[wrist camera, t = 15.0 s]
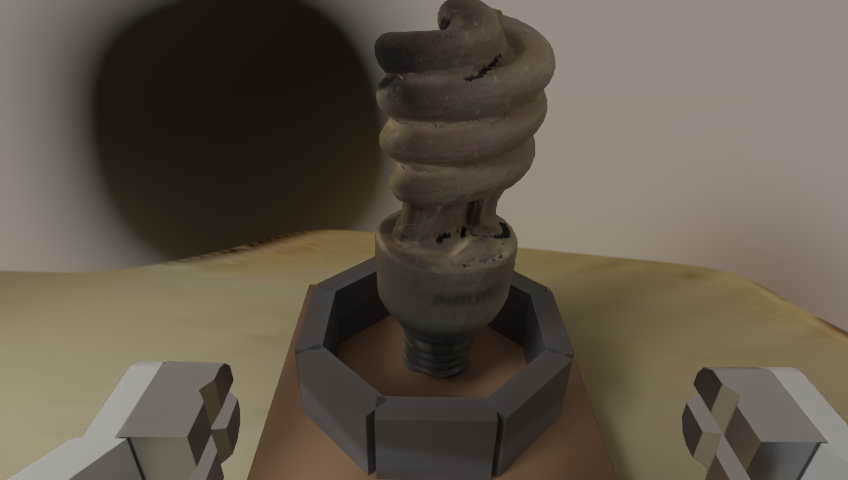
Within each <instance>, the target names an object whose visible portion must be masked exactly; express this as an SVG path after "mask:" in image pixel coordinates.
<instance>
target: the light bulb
mask: <svg viewBox="0 0 848 480" xmlns="http://www.w3.org/2000/svg"><path fill="white" fill-rule="evenodd" d="M438 25H439V28H440V30H433V31H411V32H388V33H385V34H382V35H381V36H380V37H379V38H378V39H377V40H376V43H375V46H374V47H375V56H376V59H377V61H378V63H379V65H380V66H381V68H382V69H383V70H384V71H385V73H386V76H385V78H384V79H383V80H382V81H381V82H380V83H379V85H378V89H377V93H376V97H377V101H378V105H379V106H380V108H381V109H382V111H384V112H385V113H386V114H387V115H388V117H389V120H388V122H387V123H386V125H385V126H384V127H383V129H382V131H381V133H380V136H379V143H380V146H381V148H382V149H383V151H384V152H385V153H386V154H388V155H389V156H390V157H392V158H393V159H394V160H395V161H396V167H395V169H394V170H393V171H392V172H391V175H390V178H389V187H390V189H391V190H392V192H393V194H394V195H395V197H396V198H397V199H398V200H400V201H402V202H403V207H402V210H399V211H397V212H395V213H393V214H391V215H390V216H388V217H387V218H386V219H384V220H383V221H382V222H381V223H380V225H379V226H378V228H377V231H376V235H375V243H376V245H375V258H376V267H377V287H378V293H379V297H380V299H381V301H382V303H383V305H384V306H385V308H386V309H387V310H388V312H389V313H390V314H391V315H392V317H393V318H394V319H395V320H397V321H398V322H399V324H400V325H401V326H402V328H403V331H404V345H403V348H404V350H403V360H404V363H405V364H406V366H407V367H408V368H409V369H410V370H411V371H415V372H420V373H424V374H426V375H428V376H433V377H435V378H445V377H452V376H455V375H458V374H460V373H462V372H463V371H464V370H466V369H467V367H468V365H469V358H470V350H471V345H472V343H473V336H474V335H475V334H476V333H477V332H478V331H479V330H480V329H481V328H483V327H484V326H485V325H487V324H488V323H489V322H491V321H492V320H493V319H494V318H495V316H496V315H497V314H498V313H499V311H500V310H501V308H502V307H503V305H504V303H505V301H506V299H507V297H508V293H509V288H510V284H511V280H512V276H513V271H514V266H515V257H516V253H517V238H516V235H515V233H514V231H513V229H512V227H511V226H510V225H509V224H508V223H507V222H506V221H505V220H504V219H502V218H501V217H499V216H497V215H496V206H497V201H498V199H499V198H500V196H501V195H502V193H503V192H504V190H506V189H508V188H509V187H511V186H513V185H514V184H515V183H516V182H518V181H519V180H520V179H521V178H522V177H523V176H524V175H525V173H526V172H527V171H528V170H529V169H530V167H531V164H532V162H533V159H534V157H535V140H534V137H533V135H534V134H535V132H537V130H538V129H539V127H540V126H541V124H542V123H543V121H544V118H545V116H546V112H547V98H546V95H545V92H544V88H545V87H546V86H547V85H548V84H549V82H550V80H551V78H552V76H553V74H554V69H555V57H554V53H553V49H552V47H551V45H550V44H549V42H548V41H547V40H546V38H545V37H543V36H542V35H541V34H540V33H539V32H538V31H537V30H535V29H534V28H533V27H531V26H529V25H527V24H525V23H523V22H521V21H519V20H518V19H515V18H511V17H508V16H505V15H503V14H502V12H501V10H497V9H493V8H490V7H489V6H488V5H486V4H485V3H483V2H482V1H480V0H447V1H445V2H444V3H443V4H442V5H441V7H440V9H439V12H438Z"/></svg>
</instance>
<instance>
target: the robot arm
mask: <svg viewBox="0 0 848 480" xmlns="http://www.w3.org/2000/svg"><path fill="white" fill-rule="evenodd" d="M232 382H233V376H232V373H231V369H230V366H229V365H227V364H225V363H202V362H172V361H168V362H152V361H138V362H136V363H134V364H133V365H131V366H130V367H129V368H128V370H127V371H126V373H125V374H124V376H123V377H122V379H121V380H120V382H119V383H118V385H117V386H116V388H115V389H114V391H113V392H112V393H111V395H110V396H109V398H108V399H107V401H106V402H105V404H104V405H103V407H102V408H101V410H100V411H99V413H98V414H97V416H96V417H95V419H94V420H93V422H92V423H91V425H90V426H89V427H88V429H87V430H86V432H85V433H84V435H83V436H82V438H71V439H70V440H68V441H67V442H65V443H64V444H62V445H60V446H59V447H57V448H56V449H54V450H53V451H51V452H49V453H48V454H46V455H45V456H43V457H42V458H40V459H39V460H37V461H35V462H34V463H32V464H31V465H29V466H28V467H26V468H25V469H23V470H21V471H20V472H18V473H17V474H15V475H14V476H12V477H11V478H9V479H7V480H223V479H224V476H223V472H222V468H221V463H223V462H224V461H225V460H226V459H227V458H228V457H230V456H231V455H232V454H233V451H234V448H235V445H236V442H237V439H238V433H239V426H240V408H239V403H238V399H237V398H236V397H235V396H234V395H233V394H232V393H230V392H229V390H230V387H231V385H232ZM694 386H695V388H696V389H697V391H698V393H699V394H697V395H696V396H695V397H693V398H692V399H691V400H689V401H688V402H687V403H686V406H685V409H684V413H683V416H682V422H683V434H684V438H685V441H686V445H687V447H688V449H689V451H690V453H691V455H692V457H693V458H694V459H695V460H697V461H698V462H699V463H701V464H702V465H703V466H704V467H706V468H707V469H708V470H707V474H706V478H705V480H848V425H847V424H846V423H845V421H844V420H843V419H842V418H841V417H840V416H839V414H838V413H837V412H836V411H835V410H834V409H833V408H832V406H831V405H830V404H829V403H828V402H827V401H826V400H825V398H824V397H823V396H822V395H821V394H820V393H819V391H818V390H817V389H816V388H815V387H814V386H813V385H812V383H811V382H810V381H809V380H808V379H807V378H806V377H805V375H804V374H803V373H802V372H800V371H799V370H797V369H795V368H793V367H762V368H758V367H704V368H703V369H702V370H700V371H699V372H698V373H697V376H696V379H695V381H694Z"/></svg>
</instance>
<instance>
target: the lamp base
mask: <svg viewBox="0 0 848 480" xmlns="http://www.w3.org/2000/svg"><path fill="white" fill-rule="evenodd" d="M403 345H404V331H403V328H402V326H401V325H400V324H399V322H398V321H397V320H395V319H394V318H393V317H392V315H391V314H390V313H389V312H388V310H387V309H386V308H385V306H384V305H383V303H382V301H381V299H380V297H379V293H378V287H377V267H376V258H375V257H373V258H371V259H369V260H367V261H365V262H363V263H360V264H358V265H356V266H354V267H352V268H350V269H348V270H346V271H344V272H341V273H339V274H337V275H335V276H333V277H331V278H329V279H327V280H325V281H322V282H320V283H318V284H317V285H309V288H308V291H307V294H306V298H305V301H304V304H303V307H302V310H301V313H300V316H299V319H298V322H297V326H296V329H295V332H294V335H293V338H292V341H291V344H290V347H289V351H288V354H287V357H286V360H285V363H284V366H283V369H282V372H281V375H280V379H279V382H278V385H277V388H276V391H275V394H274V397H273V400H272V404H271V407H270V410H269V413H268V416H267V419H266V422H265V425H264V429H263V432H262V435H261V438H260V441H259V444H258V447H257V450H256V453H255V457H254V460H253V463H252V466H251V469H250V472H249V475H248V478H247V480H617V479H616V476H615V473H614V470H613V467H612V464H611V462H610V459H609V456H608V453H607V450H606V447H605V444H604V442H603V439H602V436H601V433H600V430H599V427H598V424H597V422H596V419H595V416H594V413H593V410H592V407H591V405H590V402H589V399H588V396H587V393H586V390H585V387H584V385H583V382H582V379H581V376H580V373H579V370H578V367H577V365H576V362H575V359H574V353H573V350H572V347H571V345H570V342H569V339H568V336H567V333H566V330H565V328H564V325H563V322H562V319H561V316H560V313H559V311H558V308H557V305H556V302H555V299H554V296H553V294H552V292H551V291H550V289H548V288H547V287H545V286H543V285H541V284H539V283H537V282H535V281H533V280H531V279H529V278H527V277H525V276H523V275H521V274H519V273H517V272H515V271H513V276H512V280H511V284H510V288H509V293H508V297H507V299H506V301H505V303H504V305H503V307H502V308H501V310H500V311H499V313H498V314H497V315H496V316H495V318H494V319H493V320H492V321H491V322H489V323H488V324H487V325H485V326H484V327H483V328H481V329H480V330H479V331H478V332H477V333H476V334H475V335H474V336H473V343H472V345H471V350H470V358H469V365H468V367H467V369H466V370H464V371H463V372H462V373H460V374H458V375H455V376H452V377H445V378H435V377H433V376H428V375H426V374H424V373H420V372H415V371H411V370H410V369H409V368H408V367H407V366H406V364H405V363H404V360H403V350H404V348H403Z"/></svg>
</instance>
